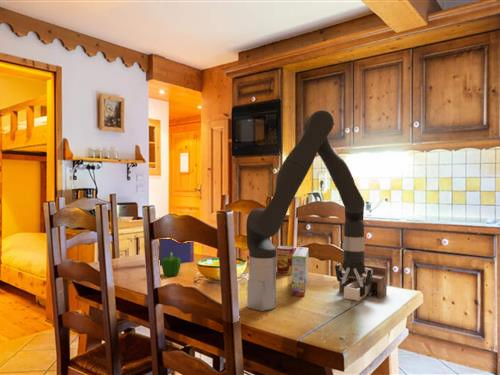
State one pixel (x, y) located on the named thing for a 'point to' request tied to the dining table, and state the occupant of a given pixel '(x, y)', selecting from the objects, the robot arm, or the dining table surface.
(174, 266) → the bell pepper
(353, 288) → the tray shell
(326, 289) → the dining table surface
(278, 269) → the canned food
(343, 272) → the cubby
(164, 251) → the cereal box
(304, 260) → the snack box
